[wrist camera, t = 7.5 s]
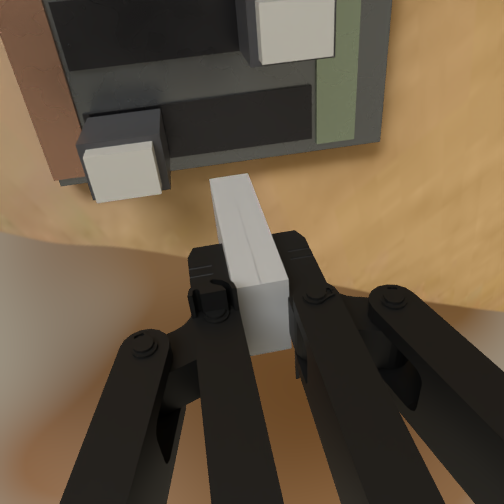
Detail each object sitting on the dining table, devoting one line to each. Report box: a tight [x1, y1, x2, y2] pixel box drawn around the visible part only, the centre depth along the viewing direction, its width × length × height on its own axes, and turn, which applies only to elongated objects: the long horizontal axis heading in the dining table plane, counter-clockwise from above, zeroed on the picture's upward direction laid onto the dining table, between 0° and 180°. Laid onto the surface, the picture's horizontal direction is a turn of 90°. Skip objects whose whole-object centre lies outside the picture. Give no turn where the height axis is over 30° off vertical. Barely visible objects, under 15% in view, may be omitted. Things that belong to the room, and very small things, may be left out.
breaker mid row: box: [235, 0, 337, 68], centre depth 21 cm, size 4×3×5 cm
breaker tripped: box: [76, 109, 171, 203], centre depth 24 cm, size 4×3×5 cm
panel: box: [0, 0, 392, 186], centre depth 24 cm, size 20×16×2 cm
